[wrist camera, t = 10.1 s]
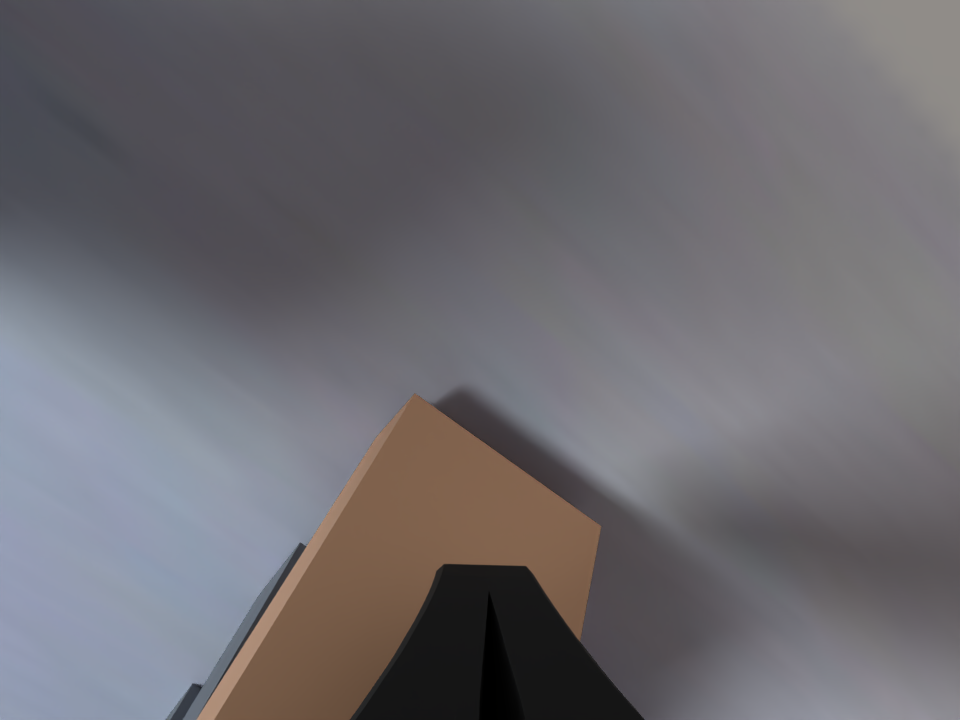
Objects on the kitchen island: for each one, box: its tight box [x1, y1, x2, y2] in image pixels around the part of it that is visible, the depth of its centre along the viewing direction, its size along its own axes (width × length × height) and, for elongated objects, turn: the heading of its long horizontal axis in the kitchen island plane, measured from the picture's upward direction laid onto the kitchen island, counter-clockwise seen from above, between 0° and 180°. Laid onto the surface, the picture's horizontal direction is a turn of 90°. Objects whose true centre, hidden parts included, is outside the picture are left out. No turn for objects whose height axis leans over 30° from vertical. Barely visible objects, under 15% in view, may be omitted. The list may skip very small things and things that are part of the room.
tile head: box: [196, 394, 601, 720], centre depth 10 cm, size 5×2×7 cm
